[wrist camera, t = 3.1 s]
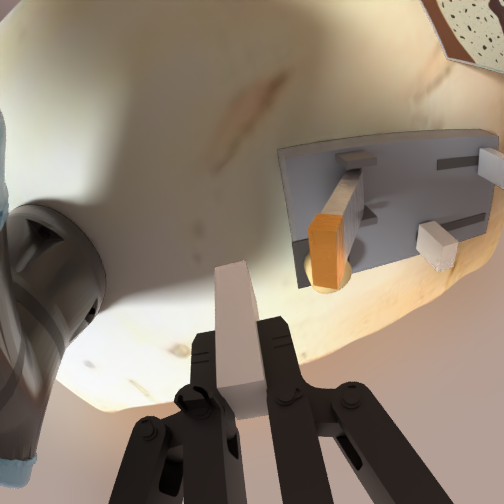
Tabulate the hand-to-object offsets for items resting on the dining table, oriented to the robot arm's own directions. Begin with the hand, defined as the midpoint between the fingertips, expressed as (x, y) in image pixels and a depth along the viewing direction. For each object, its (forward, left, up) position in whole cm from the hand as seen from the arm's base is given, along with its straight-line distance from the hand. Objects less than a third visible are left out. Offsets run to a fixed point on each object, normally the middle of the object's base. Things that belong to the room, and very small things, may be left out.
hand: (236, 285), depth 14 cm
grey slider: (+26, +1, -9) cm, 27 cm away
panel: (+17, -3, -12) cm, 21 cm away
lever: (+10, 0, -8) cm, 12 cm away
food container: (+25, +16, -12) cm, 32 cm away
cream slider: (+18, -6, -9) cm, 21 cm away
